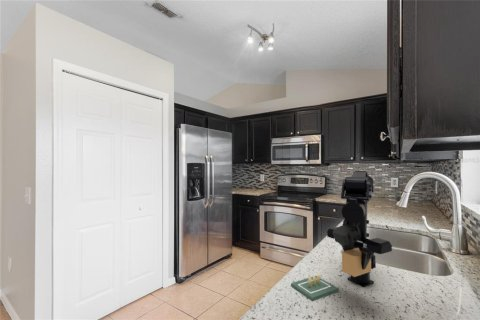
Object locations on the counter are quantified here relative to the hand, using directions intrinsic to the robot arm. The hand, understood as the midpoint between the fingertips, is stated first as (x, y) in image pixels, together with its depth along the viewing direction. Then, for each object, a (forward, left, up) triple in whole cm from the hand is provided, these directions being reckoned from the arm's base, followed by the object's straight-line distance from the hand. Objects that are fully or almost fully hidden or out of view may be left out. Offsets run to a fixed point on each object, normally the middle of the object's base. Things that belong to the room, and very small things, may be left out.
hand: (356, 266), depth 73 cm
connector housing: (0, 0, -2) cm, 2 cm away
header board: (+7, -11, -11) cm, 17 cm away
